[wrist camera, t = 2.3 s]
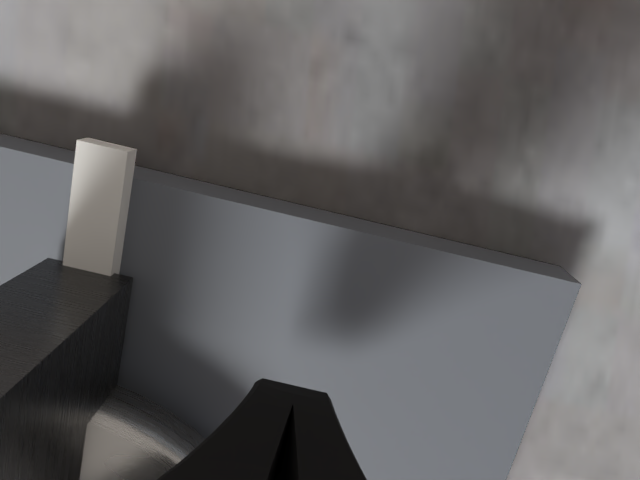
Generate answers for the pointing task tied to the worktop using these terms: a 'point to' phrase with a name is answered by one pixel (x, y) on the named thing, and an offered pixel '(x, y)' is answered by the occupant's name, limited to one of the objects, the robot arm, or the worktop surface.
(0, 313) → the dial
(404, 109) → the worktop surface
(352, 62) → the worktop surface
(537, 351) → the board
